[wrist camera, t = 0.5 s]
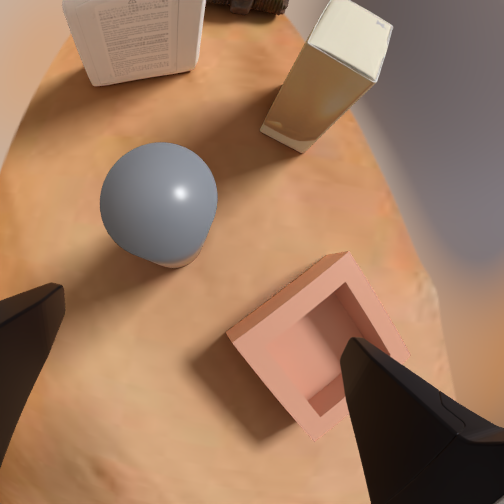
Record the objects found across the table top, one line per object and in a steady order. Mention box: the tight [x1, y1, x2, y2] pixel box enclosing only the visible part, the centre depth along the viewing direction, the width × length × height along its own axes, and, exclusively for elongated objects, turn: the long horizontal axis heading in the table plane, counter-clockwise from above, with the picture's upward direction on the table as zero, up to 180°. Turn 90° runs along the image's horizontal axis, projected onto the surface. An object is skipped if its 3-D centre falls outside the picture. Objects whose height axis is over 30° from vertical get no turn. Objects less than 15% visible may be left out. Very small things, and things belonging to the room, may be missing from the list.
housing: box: [226, 251, 411, 442], centre depth 23 cm, size 10×10×4 cm
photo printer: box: [62, 0, 206, 86], centre depth 18 cm, size 10×4×12 cm, turn 101°
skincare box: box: [260, 0, 393, 153], centre depth 20 cm, size 6×4×12 cm
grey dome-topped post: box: [100, 142, 217, 268], centre depth 18 cm, size 5×5×12 cm
